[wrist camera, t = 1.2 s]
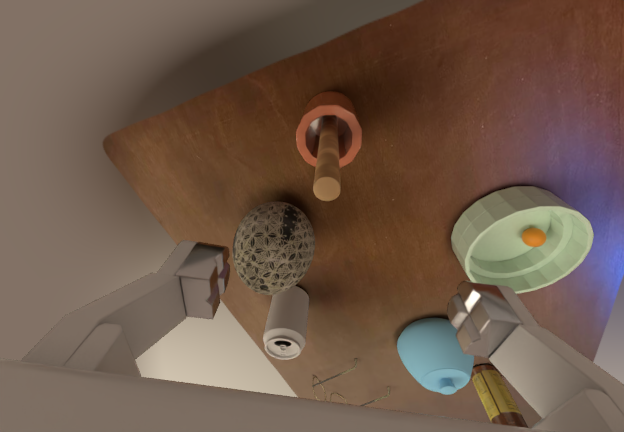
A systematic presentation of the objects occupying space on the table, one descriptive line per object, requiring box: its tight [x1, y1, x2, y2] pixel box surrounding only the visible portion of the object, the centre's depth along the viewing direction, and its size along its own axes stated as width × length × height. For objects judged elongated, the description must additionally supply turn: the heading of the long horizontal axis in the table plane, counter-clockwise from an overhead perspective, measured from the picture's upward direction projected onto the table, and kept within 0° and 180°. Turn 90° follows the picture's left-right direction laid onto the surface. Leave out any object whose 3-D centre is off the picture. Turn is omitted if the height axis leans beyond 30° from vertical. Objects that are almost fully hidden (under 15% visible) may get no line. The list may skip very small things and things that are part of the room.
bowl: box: [451, 186, 594, 294], centre depth 42 cm, size 16×16×6 cm
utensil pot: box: [296, 91, 362, 168], centre depth 33 cm, size 7×7×9 cm
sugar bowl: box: [397, 318, 474, 395], centre depth 56 cm, size 15×15×12 cm
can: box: [263, 286, 309, 360], centre depth 51 cm, size 8×8×12 cm
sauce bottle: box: [471, 364, 528, 428], centre depth 58 cm, size 7×6×20 cm
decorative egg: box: [233, 201, 315, 295], centre depth 40 cm, size 12×12×15 cm
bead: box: [522, 228, 546, 247], centre depth 42 cm, size 3×3×3 cm
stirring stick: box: [313, 115, 341, 201], centre depth 28 cm, size 2×2×20 cm
